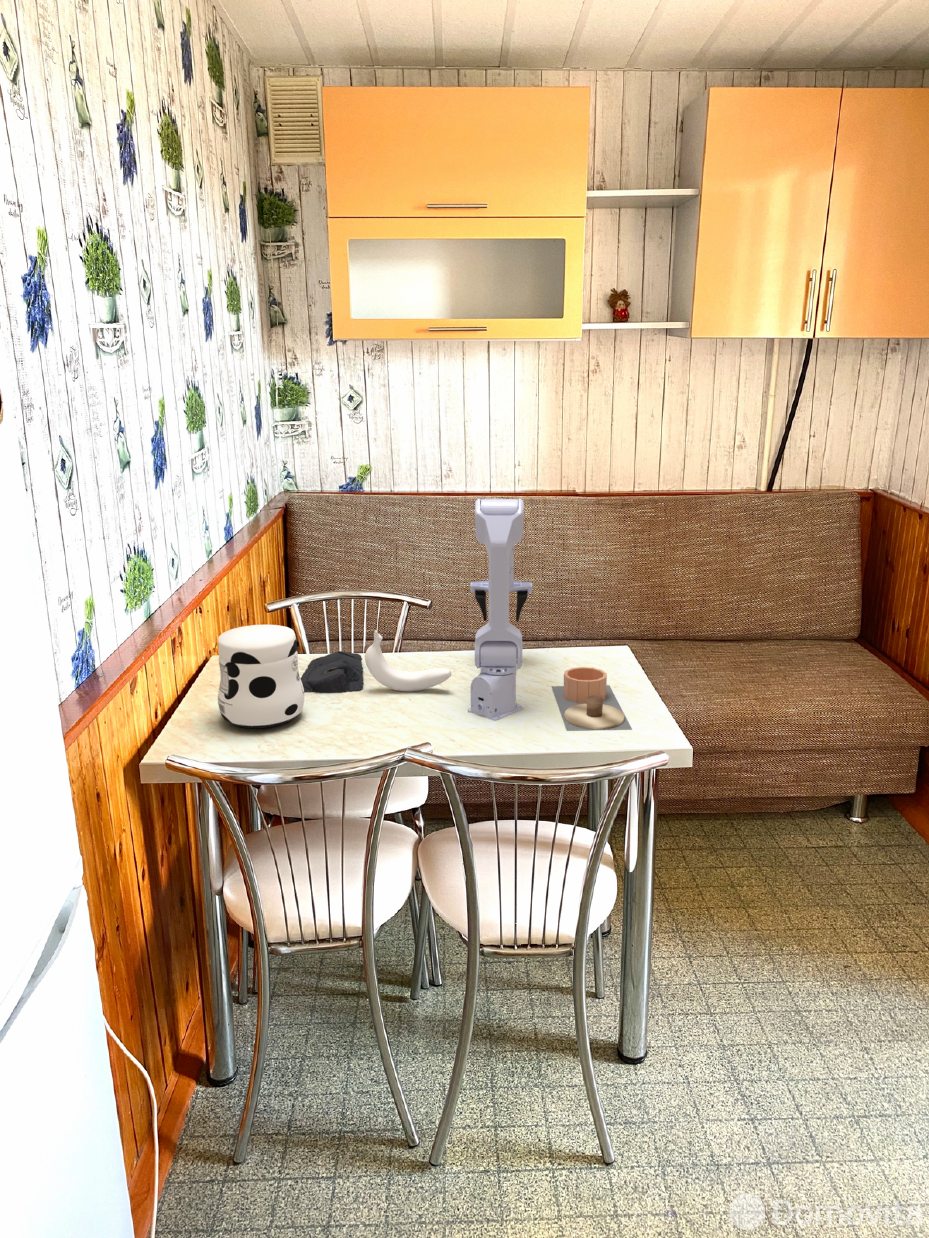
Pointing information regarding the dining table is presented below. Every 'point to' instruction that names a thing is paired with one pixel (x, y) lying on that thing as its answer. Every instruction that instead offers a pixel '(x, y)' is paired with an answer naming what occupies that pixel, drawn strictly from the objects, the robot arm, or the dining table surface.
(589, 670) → the bowl
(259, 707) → the milk container
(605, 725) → the lid
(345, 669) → the dark slate chunk
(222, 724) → the dining table surface
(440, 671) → the banana
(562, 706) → the mat
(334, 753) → the dining table surface
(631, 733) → the dining table surface
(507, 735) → the dining table surface
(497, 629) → the robot arm
